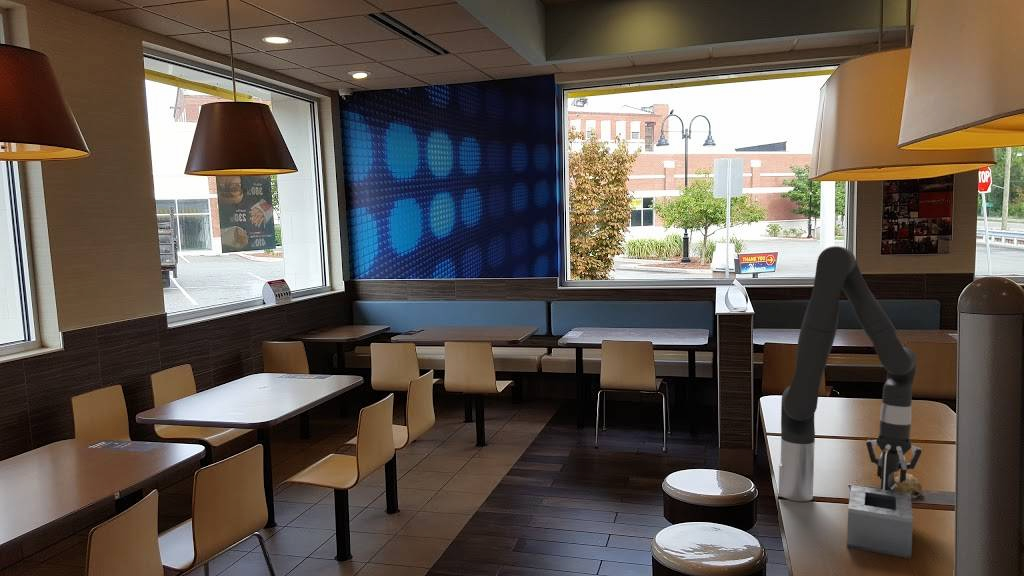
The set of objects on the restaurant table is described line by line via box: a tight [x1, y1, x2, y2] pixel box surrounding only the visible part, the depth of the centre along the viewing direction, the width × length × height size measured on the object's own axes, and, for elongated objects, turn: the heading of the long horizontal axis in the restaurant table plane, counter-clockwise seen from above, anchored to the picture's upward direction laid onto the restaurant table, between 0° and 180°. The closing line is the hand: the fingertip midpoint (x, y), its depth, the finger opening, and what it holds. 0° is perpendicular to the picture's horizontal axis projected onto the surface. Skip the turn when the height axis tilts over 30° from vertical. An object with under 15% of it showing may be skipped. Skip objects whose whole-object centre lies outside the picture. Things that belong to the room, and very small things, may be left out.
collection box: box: [846, 484, 914, 560], centre depth 179 cm, size 14×18×10 cm
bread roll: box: [894, 471, 923, 499], centre depth 211 cm, size 10×10×8 cm
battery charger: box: [880, 451, 901, 491], centre depth 194 cm, size 7×4×11 cm, turn 138°
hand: (891, 479), depth 194 cm, fingers closed on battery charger, 4 cm apart
